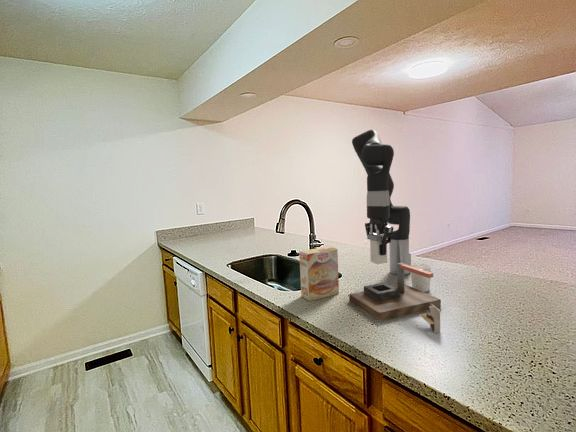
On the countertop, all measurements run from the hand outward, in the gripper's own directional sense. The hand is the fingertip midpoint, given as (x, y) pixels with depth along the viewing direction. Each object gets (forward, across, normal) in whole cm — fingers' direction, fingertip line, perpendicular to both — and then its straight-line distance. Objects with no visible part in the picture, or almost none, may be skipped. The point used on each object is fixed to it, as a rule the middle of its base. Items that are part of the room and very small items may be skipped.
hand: (378, 253), depth 113 cm
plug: (+3, 0, 0) cm, 3 cm away
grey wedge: (+23, +16, +9) cm, 29 cm away
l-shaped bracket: (+18, -2, +16) cm, 24 cm away
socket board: (+22, -6, +10) cm, 24 cm away
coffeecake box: (+22, -28, -10) cm, 37 cm away
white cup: (+22, -14, +30) cm, 39 cm away
